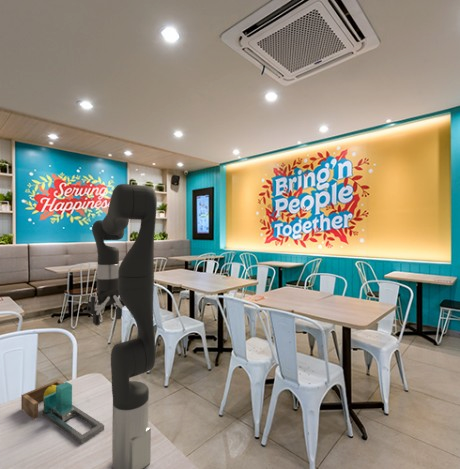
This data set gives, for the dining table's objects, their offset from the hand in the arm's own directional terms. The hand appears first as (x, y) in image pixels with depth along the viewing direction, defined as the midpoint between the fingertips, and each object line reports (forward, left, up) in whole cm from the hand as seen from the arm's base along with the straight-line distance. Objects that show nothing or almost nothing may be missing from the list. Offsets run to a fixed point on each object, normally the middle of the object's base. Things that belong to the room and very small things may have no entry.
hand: (108, 321), depth 103 cm
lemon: (+14, +12, -30) cm, 35 cm away
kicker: (+6, +12, -30) cm, 33 cm away
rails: (+2, +12, -30) cm, 32 cm away
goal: (+17, +12, -30) cm, 37 cm away
